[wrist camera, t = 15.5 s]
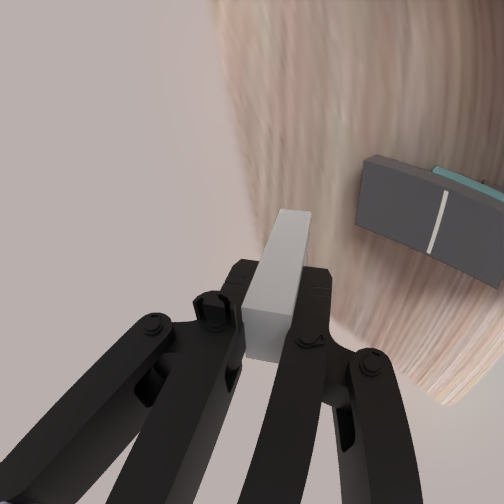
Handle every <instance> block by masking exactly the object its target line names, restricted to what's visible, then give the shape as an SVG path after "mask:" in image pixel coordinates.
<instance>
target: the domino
mask: <svg viewBox="0 0 504 504" xmlns="http://www.w3.org/2000/svg"><path fill="white" fill-rule="evenodd" d="M355 225H358V226H360V227H363V228H365V229H368V230H370V231H373V232H375V233H378V234H380V235H382V236H385V237H387V238H390V239H392V240H394V241H397V242H399V243H401V244H404V245H406V246H408V247H410V248H413V249H415V250H417V251H419V252H422V253H424V254H426V255H428V256H430V257H432V258H435V259H437V260H439V261H441V262H443V263H445V264H447V265H450V266H452V267H454V268H456V269H458V270H460V271H462V272H464V273H466V274H468V275H470V276H472V277H474V278H476V279H478V280H480V281H482V282H484V283H486V284H488V285H489V286H491V287H493V288H495V289H498V287H499V285H500V283H501V281H502V279H503V277H504V203H503V202H501V201H499V200H497V199H495V198H493V197H491V196H489V195H486V194H484V193H482V192H480V191H477V190H475V189H473V188H470V187H468V186H466V185H463V184H461V183H458V182H456V181H453V180H451V179H448V178H446V177H443V176H440V175H438V174H435V173H432V172H429V171H426V170H424V169H421V168H418V167H415V166H412V165H409V164H405V163H402V162H399V161H396V160H393V159H389V158H386V157H382V156H379V155H374V156H372V157H370V158H367V159H365V160H364V163H363V172H362V180H361V188H360V195H359V202H358V209H357V215H356V222H355Z"/></svg>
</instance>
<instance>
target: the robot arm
mask: <svg viewBox="0 0 504 504" xmlns="http://www.w3.org/2000/svg"><path fill="white" fill-rule="evenodd" d="M310 223H311V212H309V211H300V210H290V209H280V211H279V213H278V216H277V218H276V221H275V223H274V226H273V229H272V231H271V234H270V236H269V239H268V241H267V244H266V246H265V249H264V251H263V254H262V256H261V259H260V261H253V260H246V259H241V260H239V261H238V262H237V263H236V264H235V265H233V267H232V269H231V271H230V272H229V274H228V276H227V278H226V280H225V283H224V284H223V286H222V288H221V290H220V291H209V292H204V293H202V294H201V295H199V296H197V298H196V299H194V301H193V306H194V309H195V313H196V317H197V320H195V321H190V322H171V319H170V318H169V317H168V316H167V315H165V314H163V313H150V314H147V315H145V316H144V317H142V318H141V319H139V320H138V321H137V322H136V323H135V324H134V325H133V326H132V327H131V328H130V329H129V330H128V331H127V332H126V333H125V334H124V335H123V336H122V337H121V338H120V339H119V340H118V341H117V342H116V343H115V344H114V345H113V346H112V347H111V348H110V349H109V350H108V351H107V352H106V353H105V354H104V355H103V356H102V357H101V358H100V359H99V360H98V361H97V362H96V363H95V364H94V365H93V366H92V367H91V368H90V369H89V370H88V371H87V372H86V373H85V374H84V375H83V376H82V377H81V378H80V379H79V380H78V381H77V382H76V383H75V384H74V385H73V386H72V387H71V388H70V389H69V390H68V391H67V392H66V393H65V394H64V395H63V396H62V397H61V398H60V399H59V401H57V402H56V403H55V405H54V406H53V407H52V408H51V409H50V410H49V411H48V412H47V413H46V414H45V415H44V416H43V417H42V418H41V419H40V420H39V421H38V423H37V424H36V425H35V426H34V427H33V428H32V429H31V430H30V431H29V433H27V435H26V436H25V437H24V438H23V439H22V440H21V441H20V442H19V443H18V444H17V445H16V447H15V448H14V449H13V450H12V451H11V452H10V453H9V454H8V455H7V457H6V458H5V459H4V460H3V461H2V462H0V504H75V503H76V502H77V501H78V500H79V499H80V498H81V497H82V496H83V495H84V494H85V493H86V492H87V491H88V489H90V487H91V486H92V485H93V484H94V483H95V482H96V481H97V480H98V479H99V477H100V476H101V475H102V474H103V473H104V472H105V471H106V470H107V468H108V467H109V466H110V465H111V464H112V463H113V462H114V460H115V459H116V458H117V457H118V456H119V455H120V454H121V453H122V451H123V450H124V449H125V448H126V447H127V446H128V444H129V443H130V442H131V441H132V440H133V439H134V437H135V436H136V435H137V434H138V433H139V432H140V433H139V435H138V437H137V439H136V441H135V443H134V445H133V447H132V449H131V451H130V453H129V455H128V457H127V460H126V461H125V464H124V466H123V468H122V470H121V472H120V474H119V476H118V478H117V480H116V482H115V484H114V486H113V489H112V491H111V493H110V495H109V497H108V499H107V501H106V504H193V501H194V499H195V497H196V494H197V491H198V489H199V486H200V483H201V481H202V478H203V476H204V473H205V471H206V468H207V465H208V463H209V460H210V458H211V455H212V452H213V450H214V447H215V444H216V441H217V439H218V436H219V433H220V430H221V428H222V425H223V422H224V419H225V417H226V414H227V411H228V408H229V405H230V403H231V400H232V397H233V394H234V391H235V388H236V385H237V382H238V380H239V377H240V374H241V371H242V358H243V355H244V353H245V354H246V358H251V359H257V360H262V361H267V362H273V363H279V365H278V369H277V373H276V377H275V381H274V385H273V388H272V392H271V396H270V399H269V403H268V407H267V410H266V414H265V418H264V421H263V424H262V428H261V432H260V435H259V438H258V441H257V445H256V448H255V451H254V454H253V458H252V461H251V464H250V467H249V470H248V473H247V476H246V479H245V483H244V485H243V488H242V491H241V494H240V497H239V500H238V503H237V504H300V503H301V499H302V495H303V491H304V487H305V483H306V479H307V475H308V470H309V466H310V461H311V456H312V452H313V447H314V441H315V437H316V431H317V426H318V420H319V414H320V408H321V402H323V403H326V404H328V405H330V406H332V412H333V419H334V427H335V435H336V443H337V453H338V462H339V472H340V483H341V496H342V504H423V498H422V491H421V484H420V478H419V472H418V468H417V461H416V456H415V451H414V446H413V442H412V437H411V433H410V428H409V424H408V420H407V416H406V412H405V409H404V405H403V401H402V397H401V394H400V390H399V387H398V383H397V380H396V376H395V373H394V370H393V366H392V363H391V361H390V359H389V358H388V356H387V355H386V354H385V353H383V352H382V351H380V350H378V349H375V348H364V349H361V350H358V351H357V352H353V351H351V350H348V349H346V348H344V347H342V346H340V345H339V344H337V343H336V342H335V341H334V340H333V338H332V337H331V335H330V332H329V320H330V307H331V293H332V276H331V275H330V273H329V271H328V269H323V268H315V267H307V266H306V263H307V257H308V246H309V235H310Z"/></svg>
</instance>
